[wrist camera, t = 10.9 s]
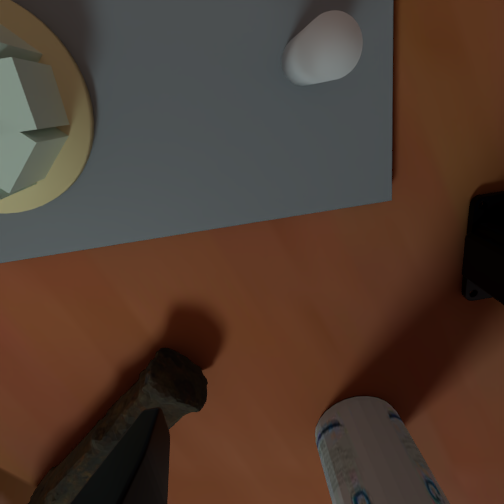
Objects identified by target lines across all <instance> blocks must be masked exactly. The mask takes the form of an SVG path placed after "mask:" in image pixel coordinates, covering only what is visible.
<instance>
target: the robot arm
mask: <svg viewBox="0 0 504 504" xmlns="http://www.w3.org/2000/svg"><path fill="white" fill-rule="evenodd" d="M482 201H483V204H482V206H481V207H480V208H479V204H480V203H481V202H482ZM462 275H463V280H462V291H461V292H462V295H463V296H464V297H465V298H466V299H467V300H470V301H473V300H479V299H485V298H492V297H493V298H495V299H496V300H498V301H499V302H500V303H502V304H503V305H504V191H500V192H494V193H488V194H481V195H477V196H475V197H474V198H473V199H472V200H471V202H470V206H469V217H468V227H467V235H466V237H465V247H464V258H463V269H462ZM472 290H473V292H472V293H470V292H471V291H472ZM169 452H170V434H169V430H168V426H167V423H166V420H165V417H164V414H163V411H162V409H161V408H160V407H155V408H150V409H145V410H143V411H142V412H141V413H140V415H139V416H138V417H137V418H136V420H135V421H134V422H133V424H132V425H131V426H130V427H129V429H128V430H127V431H126V432H125V434H124V435H123V436H122V438H121V439H120V440H119V441H118V443H117V444H116V445H115V447H114V448H113V449H112V450H111V452H110V453H109V454H108V456H107V457H106V458H105V459H104V461H103V462H102V463H101V465H100V466H99V467H98V468H97V470H96V471H95V472H94V473H93V475H92V476H91V477H90V479H89V480H88V481H87V482H86V484H85V485H84V486H83V488H82V489H81V490H80V491H79V493H78V494H77V495H76V497H75V498H74V499H73V500H72V502H71V503H70V504H167V497H168V474H169Z"/></svg>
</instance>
